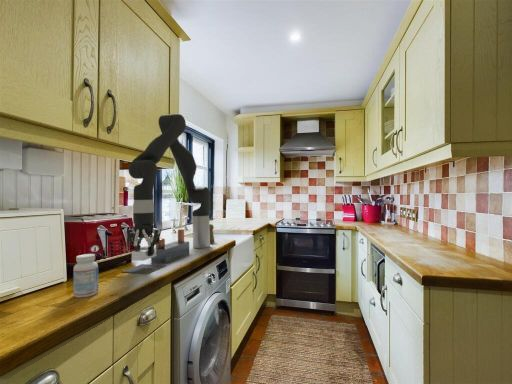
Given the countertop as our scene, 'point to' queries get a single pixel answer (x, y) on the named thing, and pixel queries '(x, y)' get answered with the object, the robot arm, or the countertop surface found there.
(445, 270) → the countertop surface
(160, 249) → the bench plane
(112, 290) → the countertop surface
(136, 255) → the lever cap
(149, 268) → the rubber mat
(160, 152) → the robot arm
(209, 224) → the cork
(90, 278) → the pill bottle
